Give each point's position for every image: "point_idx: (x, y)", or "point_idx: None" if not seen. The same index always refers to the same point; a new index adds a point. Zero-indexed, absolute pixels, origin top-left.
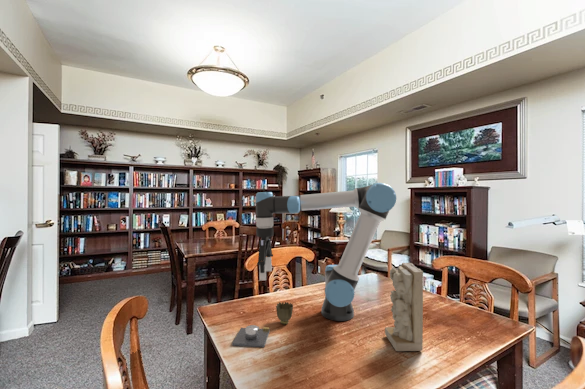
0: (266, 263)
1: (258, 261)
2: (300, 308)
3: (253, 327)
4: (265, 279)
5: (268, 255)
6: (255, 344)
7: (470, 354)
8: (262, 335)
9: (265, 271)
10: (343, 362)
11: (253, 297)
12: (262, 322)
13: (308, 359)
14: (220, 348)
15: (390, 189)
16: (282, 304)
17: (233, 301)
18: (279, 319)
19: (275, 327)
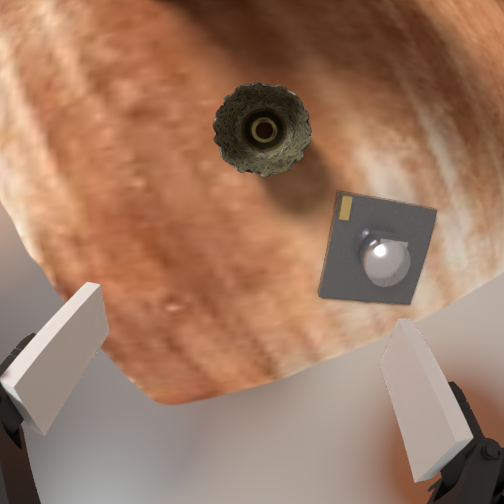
0: (72, 376)
1: (500, 495)
2: (119, 74)
3: (385, 259)
4: (412, 327)
5: (6, 420)
6: (430, 236)
7: None
8: (383, 217)
9: (442, 379)
10: (483, 12)
11: (51, 277)
12: (257, 223)
13: (484, 87)
14: None
15: None
16: (220, 141)
17: None
18: (279, 152)
19: (303, 167)
